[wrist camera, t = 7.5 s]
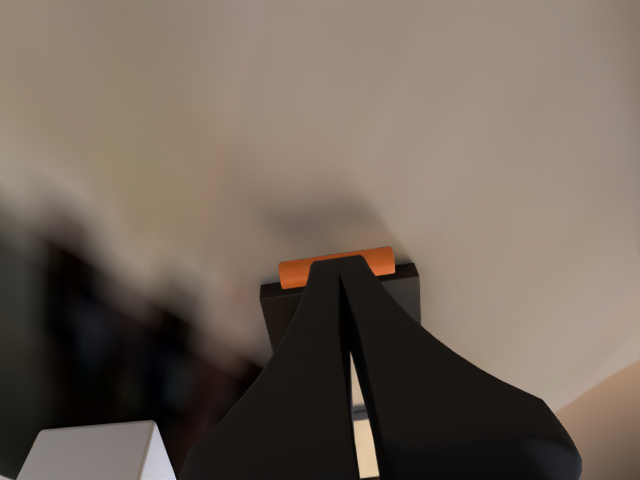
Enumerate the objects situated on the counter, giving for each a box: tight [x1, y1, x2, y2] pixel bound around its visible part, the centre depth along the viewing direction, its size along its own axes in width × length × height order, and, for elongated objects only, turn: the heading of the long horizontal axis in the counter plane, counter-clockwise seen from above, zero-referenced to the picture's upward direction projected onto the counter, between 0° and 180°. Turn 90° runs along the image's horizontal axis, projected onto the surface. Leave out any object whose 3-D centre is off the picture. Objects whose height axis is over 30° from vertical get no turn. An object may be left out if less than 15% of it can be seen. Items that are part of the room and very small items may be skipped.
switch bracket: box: [260, 263, 421, 354], centre depth 25 cm, size 10×8×8 cm
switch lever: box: [279, 246, 395, 478], centre depth 23 cm, size 10×5×2 cm, turn 7°
